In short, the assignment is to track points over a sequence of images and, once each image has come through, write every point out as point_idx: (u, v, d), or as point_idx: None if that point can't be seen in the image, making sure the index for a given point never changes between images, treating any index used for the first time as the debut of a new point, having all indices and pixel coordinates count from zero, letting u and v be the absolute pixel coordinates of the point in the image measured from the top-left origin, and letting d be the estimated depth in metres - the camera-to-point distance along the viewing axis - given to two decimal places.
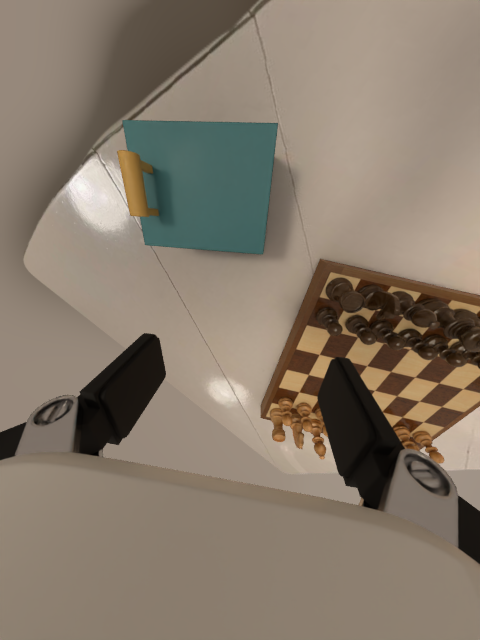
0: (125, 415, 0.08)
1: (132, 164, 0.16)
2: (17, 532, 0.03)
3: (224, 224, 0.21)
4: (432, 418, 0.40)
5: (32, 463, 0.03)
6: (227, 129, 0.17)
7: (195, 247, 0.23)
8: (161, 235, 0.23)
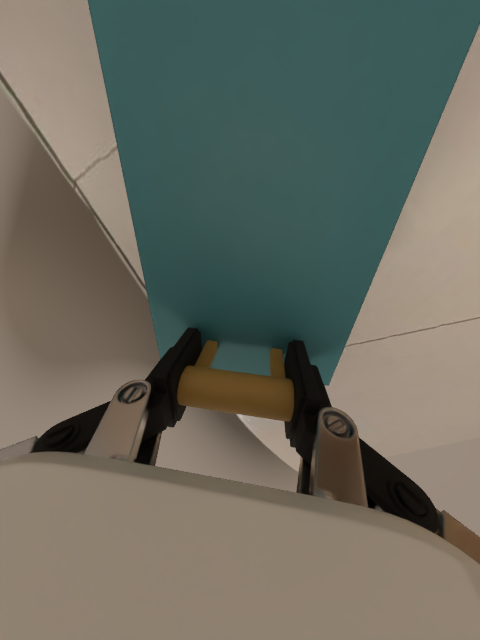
0: None
1: (197, 389, 0.08)
2: (17, 532, 0.03)
3: (328, 189, 0.07)
4: None
5: (32, 463, 0.03)
6: (133, 174, 0.08)
7: (365, 286, 0.09)
8: (317, 354, 0.11)
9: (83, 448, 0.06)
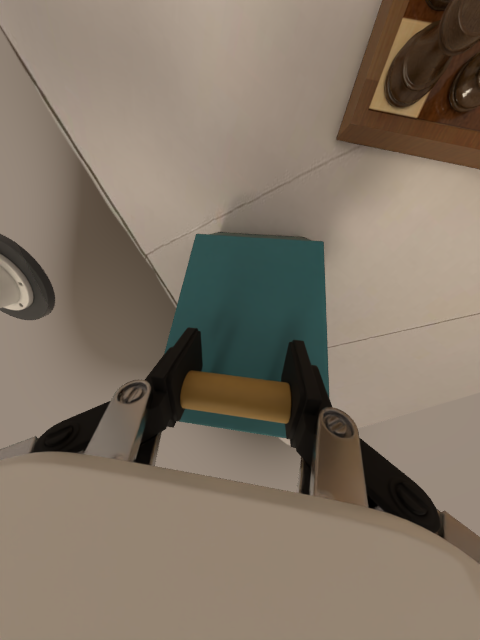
0: None
1: (203, 378, 0.09)
2: (17, 532, 0.03)
3: (287, 287, 0.15)
4: None
5: (32, 463, 0.03)
6: (190, 277, 0.15)
7: (324, 335, 0.13)
8: None
9: (82, 448, 0.06)
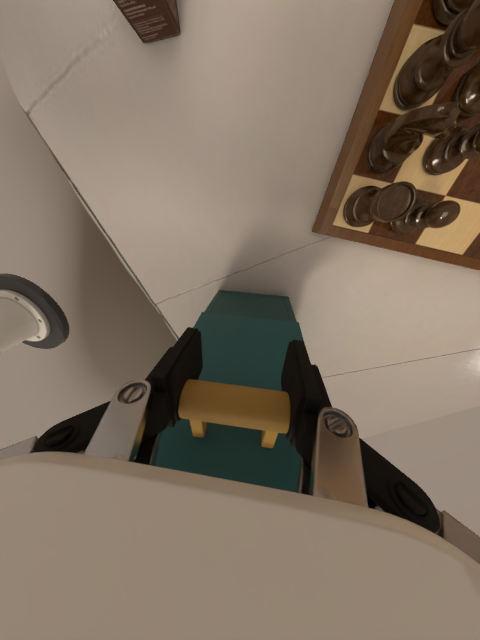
0: None
1: (205, 381, 0.09)
2: (17, 532, 0.03)
3: (274, 347, 0.17)
4: None
5: (32, 463, 0.03)
6: None
7: None
8: None
9: (83, 448, 0.06)
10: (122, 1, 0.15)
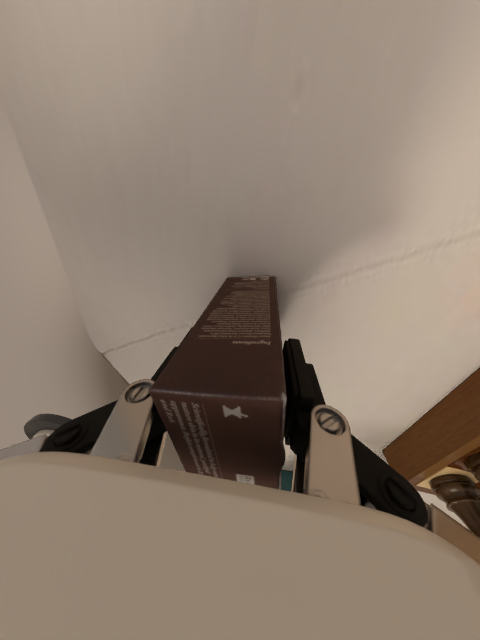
0: None
1: None
2: (17, 532, 0.03)
3: None
4: None
5: (32, 463, 0.03)
6: None
7: None
8: None
9: (91, 447, 0.06)
10: None
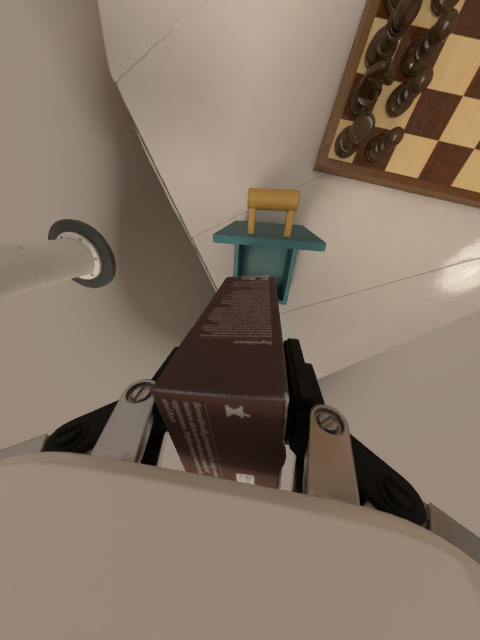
0: None
1: None
2: (17, 532, 0.03)
3: None
4: None
5: (32, 463, 0.03)
6: (234, 223, 0.28)
7: (311, 233, 0.24)
8: (308, 237, 0.20)
9: (92, 447, 0.06)
10: None
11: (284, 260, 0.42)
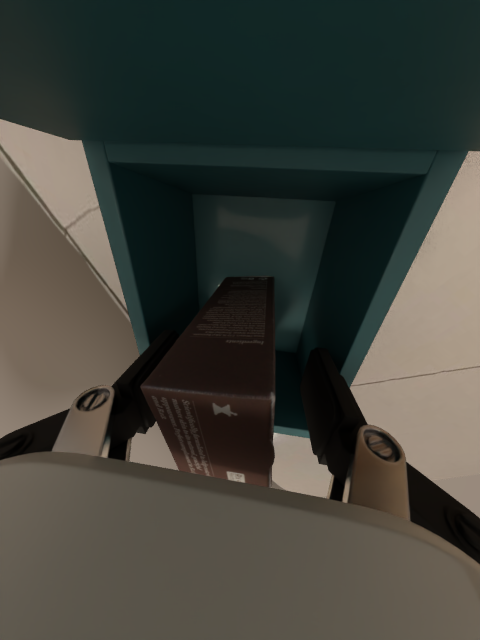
0: None
1: None
2: (17, 532, 0.03)
3: None
4: None
5: (32, 463, 0.03)
6: None
7: None
8: None
9: None
10: None
11: (309, 288, 0.15)
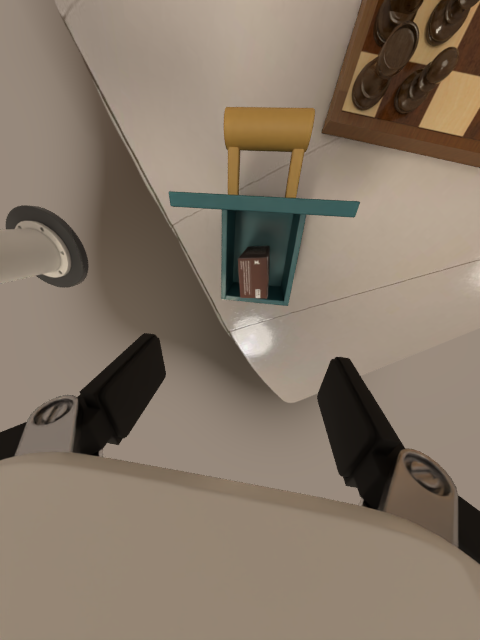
0: (125, 415, 0.08)
1: None
2: (17, 532, 0.03)
3: None
4: None
5: (32, 463, 0.03)
6: None
7: None
8: None
9: None
10: None
11: (285, 251, 0.34)
